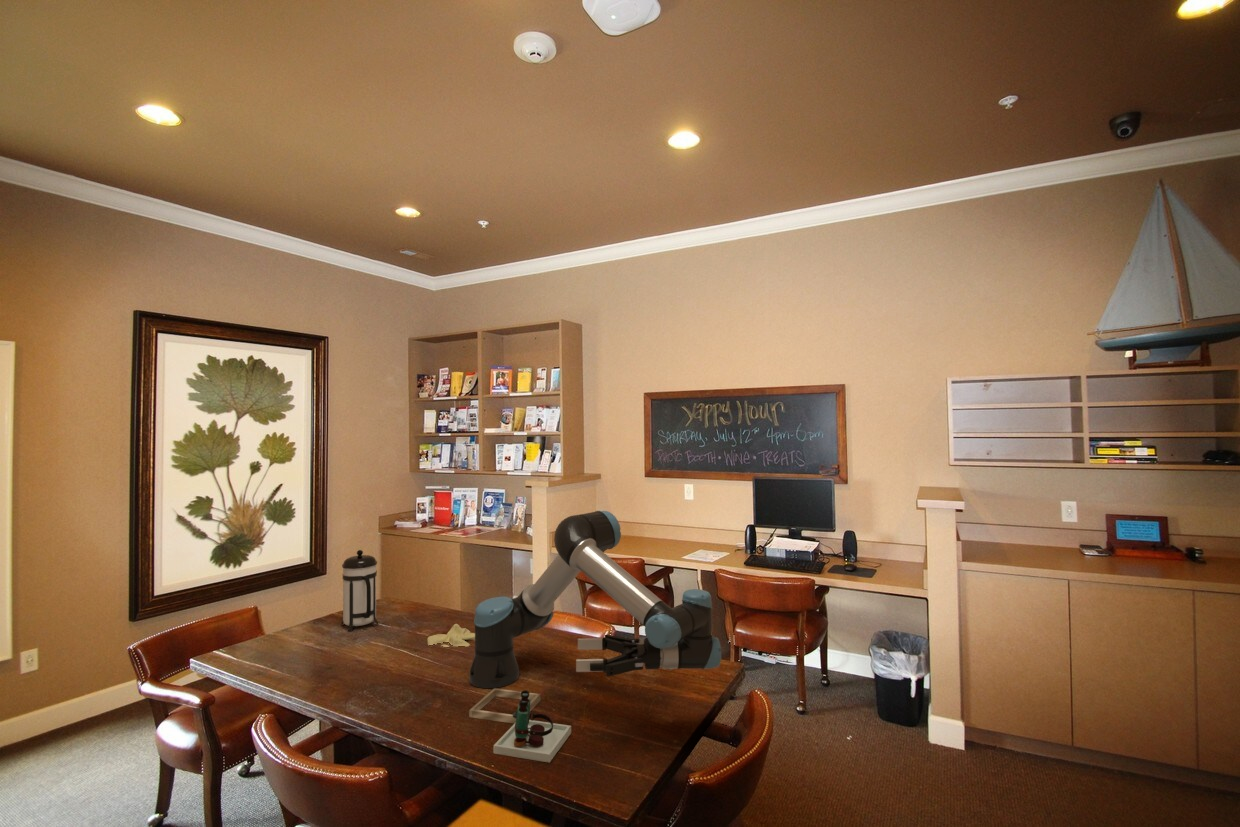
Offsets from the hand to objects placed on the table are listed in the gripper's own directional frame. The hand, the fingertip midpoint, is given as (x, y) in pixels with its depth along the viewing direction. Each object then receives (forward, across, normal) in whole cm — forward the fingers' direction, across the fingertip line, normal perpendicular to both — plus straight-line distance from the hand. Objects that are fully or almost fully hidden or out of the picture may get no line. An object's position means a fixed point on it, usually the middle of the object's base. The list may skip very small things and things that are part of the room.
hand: (576, 654), depth 146 cm
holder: (+20, +13, -20) cm, 31 cm away
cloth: (+46, +67, -22) cm, 84 cm away
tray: (+10, -6, -19) cm, 22 cm away
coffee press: (+88, +86, -22) cm, 125 cm away
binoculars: (+10, -6, -18) cm, 22 cm away
